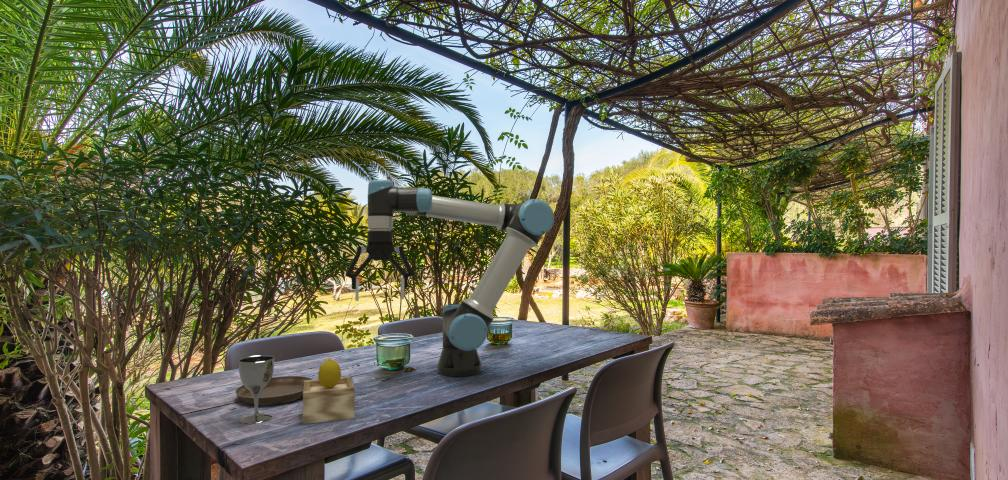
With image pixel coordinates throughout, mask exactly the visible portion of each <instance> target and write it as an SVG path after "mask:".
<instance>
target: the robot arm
mask: <svg viewBox="0 0 1008 480" xmlns="http://www.w3.org/2000/svg"><path fill="white" fill-rule="evenodd" d="M367 186H368V187H367V229H368V230H369V231H367V245H366V246H361V245H357V247H356V252H355V255H354V257H353V258H352V261H351V262H350V265H349V266H348V268H347V270H346V272H345V274H344V275H345V276H346V278H350V279H351V289H352V290H355V294H354V295H355V299H354V300H355V301H356V302H357V301H358V302H359V299H360V298H359V297H360V295H359V294H360V293H359V292H360V290H359V286H360V285H359V284H360V279H359V278H357V277H358V276H359V275H360V274H361V272H362V271H363V270H364V269H365V268H366V267H367V266H368V265H369V263H371V262H372V261H375V262H376V261H377V262H378V261H384V262H385V261H389V262H390V263H391V264H392V266H394V268H396V270H397V271H398V272H399V273H400V275H401V277H400V297H399V298H400V299H401V300H405V289H408V286H409V285H408V283H409V281H408V280H409V278H410V277H412V276H414V274H415V273H414V270H413V269H412V266H411V265H410V262H409V261H408V259H407V256H406V255H405V252H404V247H403V246H402V245H399V246H394V242H393V241H394V235H393V234H394V232H393V231H392V230H393V228H394V217H393V216H394V214H393V213H394V212H403V214H405V215H408V216H421V217H428V218H434V219H435V218H436V219H441V220H448V221H455V222H456V221H457V222H461V223H462V222H463V223H470V224H477V225H483V226H488V227H489V226H491V227H496V228H497V230H499V231H505V232H506V236H505V238H504V240H503V241H502V243H501V245H500V246H499V248H498V250H497V251H496V253H495V255H494V257H493V258H492V260H491V261H490V263H489V264H488V266H487V269H485V271H484V273H483V275H482V276H481V278H480V279H479V281H478V283H477V284H476V287H475V288H474V290H473V291H472V293H471V295H470V296H469V297H467V298H465V299H462V300H461V302H460V303H459V304H445V305H444V306H443V308H442V313H441V315H442V350H441V353H440V356H439V360H438V362H437V373H438V374H440V375H443V376H446V377H447V376H448V377H465V376H466V377H467V376H473V375H478V374H479V373H481V372H482V363H481V362H482V361H481V358H480V356H479V352H478V348H480V347H482V345H483V344H484V343H485V342H486V339H487V336H488V329H489V327H490V326H491V324H492V322H493V320H494V315H493V312H494V309H495V307H496V306H497V304H498V303H499V301H500V299H501V297H502V295H504V292H505V291H506V290H507V288H508V286H509V285H510V282H511V280H512V279H513V278H514V275H515V274H516V272H517V271H518V269H519V267H520V266H521V264H522V263H523V260H524V259H525V257H526V255H527V253H528V252H529V250H530V249H532V248H536V247H537V245H538V244H539V243H540V241H541V240H542V237H543V236H544V235H545V234H547V233H548V232H549V231H551V229H552V228H553V225H554V223H555V214H554V211H553V209H552V207H551V206H550V204H549V203H547V202H546V201H544V200H542V199H537V198H531V199H527V200H525V201H523V202H519V203H505V202H502V203H500V204H499V205H498V204H492V203H485V202H479V201H478V202H477V201H472V200H465V199H459V198H453V197H446V196H439V195H433V194H432V193H433V192H432V189H430V188H428V187H427V188H426V187H396V186H394V182H393V181H392V180H390V179H372V180H370V181H369V182H368V185H367ZM364 252H366V253H367V254H368V256H367V257H366V259H364V261H363V262H362V263H361V264H360V265H359V267H358V268H357V269H356V270H355V271H354V268H355V266H356V264H357V263H358V260H359V259H360V256H361V254H364ZM394 252H396V254H398V255H399V257H400V260H401V261H402V263H403V266H404V267H405V269H406V271H407V272H406V271H405V270H404V268H403V267H401V265H400V264H399V263H398V261H396V260H395V258H394V257H393V255H392V254H394ZM353 271H354V272H353ZM352 272H353V273H352Z"/></svg>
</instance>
